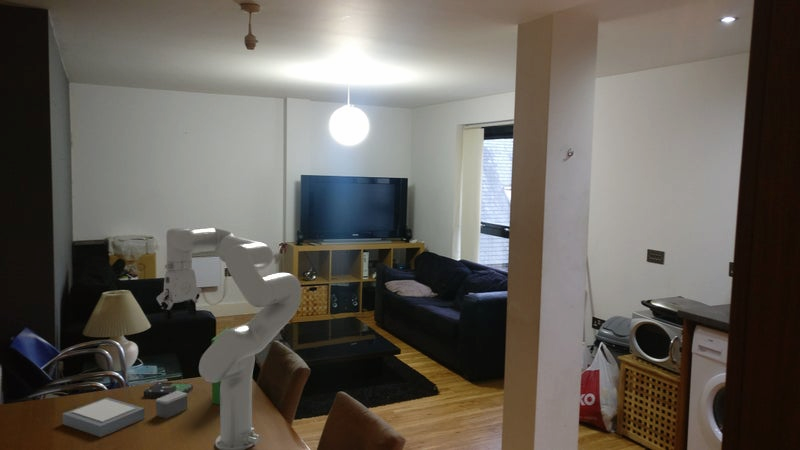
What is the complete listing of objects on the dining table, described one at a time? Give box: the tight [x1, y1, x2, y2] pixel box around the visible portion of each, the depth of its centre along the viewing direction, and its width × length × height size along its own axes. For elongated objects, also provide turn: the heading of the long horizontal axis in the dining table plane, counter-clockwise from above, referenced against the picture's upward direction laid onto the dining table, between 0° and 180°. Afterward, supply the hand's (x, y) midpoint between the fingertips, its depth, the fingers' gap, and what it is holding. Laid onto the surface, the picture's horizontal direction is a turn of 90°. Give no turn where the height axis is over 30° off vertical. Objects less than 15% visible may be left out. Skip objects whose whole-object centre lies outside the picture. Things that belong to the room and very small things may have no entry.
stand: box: [61, 397, 146, 438], centre depth 186 cm, size 20×16×4 cm
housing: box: [155, 391, 188, 420], centre depth 193 cm, size 5×9×6 cm, turn 153°
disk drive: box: [143, 381, 194, 399], centre depth 212 cm, size 10×3×15 cm
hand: (180, 317), depth 180 cm, fingers open, 9 cm apart
